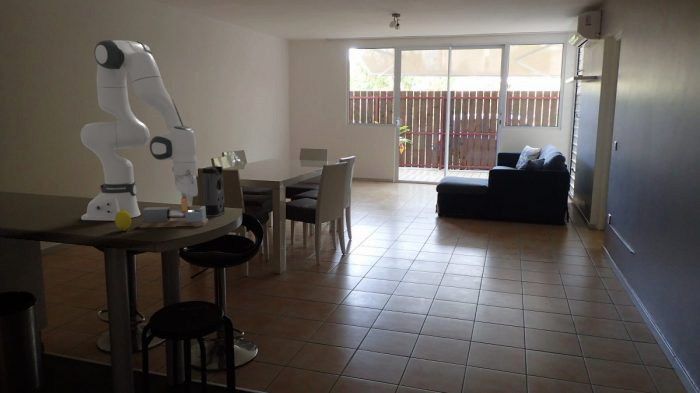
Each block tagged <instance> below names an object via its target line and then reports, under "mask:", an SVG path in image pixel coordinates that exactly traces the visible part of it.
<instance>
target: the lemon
mask: <svg viewBox="0 0 700 393" xmlns="http://www.w3.org/2000/svg"><path fill="white" fill-rule="evenodd" d="M114 222H115V226H116V227H117V228H118V229H119V230H122V231H123V232H124V231H126V230H127V229H128V228H130V227H131V225H132V218H131V216H130V214H129V213H128V212H127V211H124V210H121V211H119V212H118V213H117V214H116V216H115V221H114Z"/></svg>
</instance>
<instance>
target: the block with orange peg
mask: <svg viewBox="0 0 700 393" xmlns="http://www.w3.org/2000/svg"><path fill="white" fill-rule="evenodd" d="M180 201H181V205H180V206H181V210H180V209H179V210H170V211H167V218H171V219H184V218H185V212H195V211H194V210H195V209H191V208H190V207H191V206H190V207H188V206H187V197H183V198H182V197H181V198H180Z"/></svg>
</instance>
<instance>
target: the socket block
mask: <svg viewBox="0 0 700 393" xmlns="http://www.w3.org/2000/svg"><path fill="white" fill-rule="evenodd" d="M193 210H194V211H195V212H185V220H186V222H203V221H204V220H205V219H206V218H207V217H206V207H205V206H204V205H203V206H201V207H200V208H199V209H193Z"/></svg>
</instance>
